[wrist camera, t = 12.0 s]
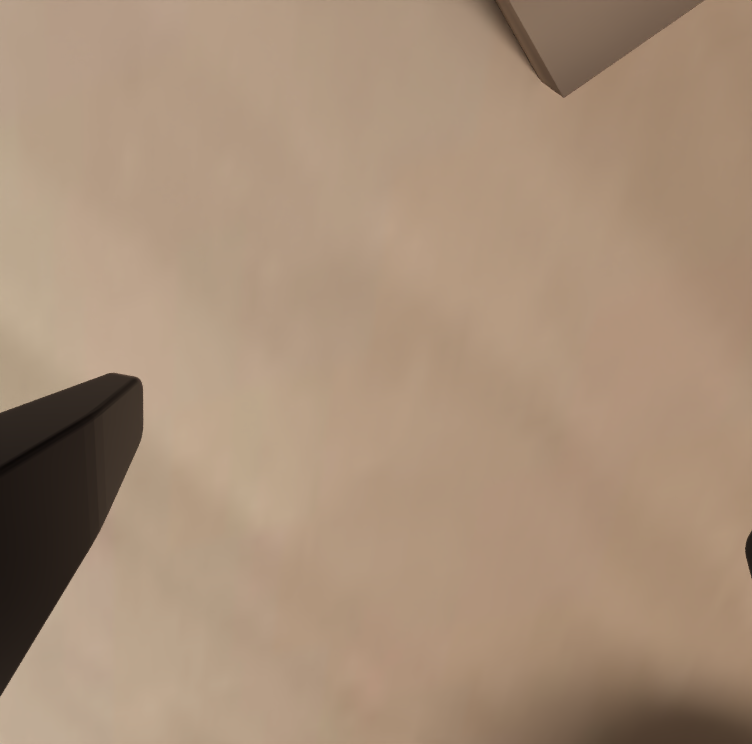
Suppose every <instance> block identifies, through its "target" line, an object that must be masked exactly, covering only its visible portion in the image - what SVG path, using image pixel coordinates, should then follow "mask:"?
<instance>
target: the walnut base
mask: <svg viewBox="0 0 752 744" xmlns="http://www.w3.org/2000/svg"><path fill="white" fill-rule="evenodd" d="M495 1H496V3H497V5H498V6H499V8H500V10H501V12H502V13H503V15H504V17H505V19H506V20H507V22H508V24H509V26H510V27H511V29H512V31H513V33H514V34H515V36H516V38H517V40H518V41H519V43H520V45H521V47H522V49H523V50H524V52H525V54H526V56H527V57H528V59H529V61H530V63H531V64H532V66H533V68H534V70H535V71H536V73H537V75H538V77H539V78H540V80H541V81H542V82H543V83H544V84H546V85H547V86H548V87H550V88H551V89H552V90H554V91H555V92H556V93H558V94H559V95H561V96H562V97H563V98H564V97H566V96H567V95H569V94H570V93H572V92H573V91H575V90H576V89H577V88H579V87H580V86H582V85H583V84H585V83H586V82H588V81H589V80H590V79H592V78H593V77H595V76H596V75H598V74H599V73H600V72H602V71H603V70H605V69H606V68H608V67H609V66H611V65H612V64H613V63H615V62H616V61H618V60H619V59H621V58H622V57H624V56H625V55H626V54H628V53H629V52H631V51H632V50H634V49H635V48H637V47H638V46H639V45H641V44H642V43H644V42H645V41H647V40H648V39H650V38H651V37H652V36H654V35H655V34H657V33H658V32H660V31H661V30H662V29H664V28H665V27H667V26H668V25H670V24H671V23H673V22H674V21H675V20H677V19H678V18H680V17H681V16H683V15H684V14H686V13H687V12H688V11H690V10H691V9H693V8H694V7H696V6H697V5H699V4H700V3H701V2H703V1H704V0H495Z"/></svg>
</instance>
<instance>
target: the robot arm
mask: <svg viewBox="0 0 752 744" xmlns="http://www.w3.org/2000/svg"><path fill="white" fill-rule="evenodd" d="M142 433H143V386H142V382H141V380H140V379H139V378H137V377H134V376H128V375H123V374H118V373H108V374H106V375H103V376H100V377H97V378H95V379H92V380H89V381H86V382H84V383H81V384H78V385H76V386H73V387H70V388H67V389H65V390H62V391H59V392H56V393H54V394H51V395H48V396H45V397H43V398H40V399H37V400H34V401H32V402H29V403H26V404H23V405H21V406H18V407H15V408H12V409H10V410H7V411H4V412H1V413H0V696H1V695H2V693H3V691H4V690H5V688H6V686H7V685H8V683H9V681H10V680H11V678H12V677H13V675H14V673H15V672H16V670H17V668H18V667H19V665H20V663H21V662H22V660H23V658H24V657H25V655H26V653H27V652H28V650H29V648H30V647H31V645H32V643H33V642H34V640H35V638H36V637H37V635H38V634H39V632H40V630H41V629H42V627H43V625H44V624H45V622H46V620H47V619H48V617H49V615H50V614H51V612H52V610H53V609H54V607H55V605H56V604H57V602H58V600H59V599H60V597H61V596H62V594H63V592H64V591H65V589H66V587H67V586H68V584H69V582H70V581H71V579H72V577H73V576H74V574H75V572H76V571H77V569H78V567H79V566H80V564H81V562H82V561H83V559H84V557H85V556H86V554H87V553H88V551H89V549H90V548H91V546H92V544H93V542H94V541H95V539H96V537H97V535H98V534H99V532H100V530H101V528H102V526H103V523H104V521H105V519H106V517H107V515H108V513H109V511H110V508H111V506H112V504H113V502H114V499H115V497H116V495H117V493H118V491H119V488H120V486H121V484H122V482H123V479H124V477H125V475H126V473H127V471H128V468H129V466H130V464H131V462H132V459H133V457H134V455H135V453H136V451H137V448H138V446H139V444H140V441H141V438H142ZM745 553H746V559H747V562H748V566H749V570H750V574H751V578H752V531H751V533H750V534H749V536H748V538H747V542H746V547H745Z"/></svg>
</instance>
